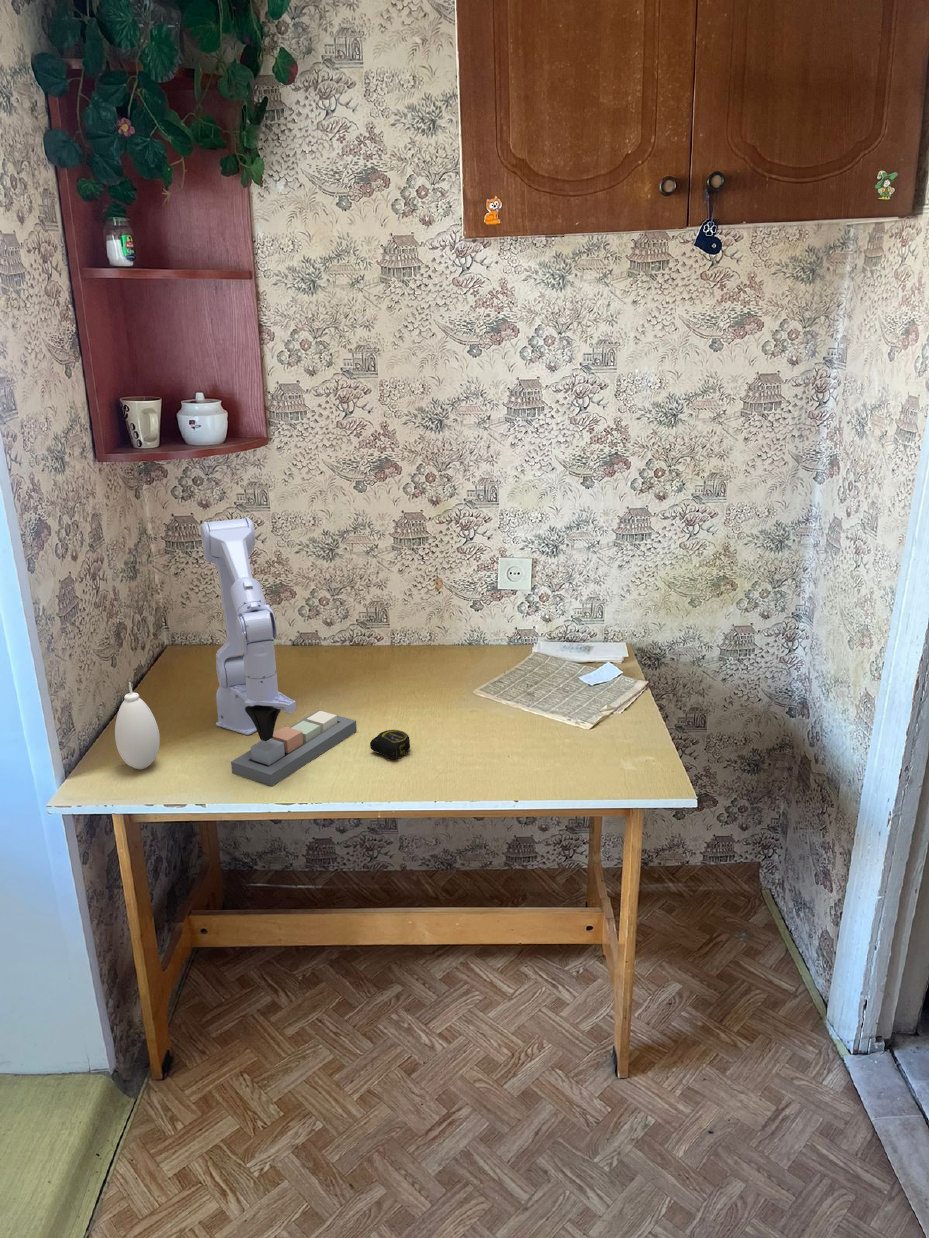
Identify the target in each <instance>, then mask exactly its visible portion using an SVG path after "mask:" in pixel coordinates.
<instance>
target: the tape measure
mask: <svg viewBox="0 0 929 1238" xmlns="http://www.w3.org/2000/svg"><path fill="white" fill-rule="evenodd" d="M410 739H411V738H410V736H409V735H408V733H406V732H405V731H403V730H398V729H389V730H384V731H382V732H380V733H379V734H377V736H376V737H373V738H372V739H371V740H370V743H369V747H370V750H371V751H373V752H375V753H377V754H380V755H383V756H385V757H387V758H389V759H392V760H398V759H399V758H400V757H402V756H404V755H406V754H407V753H408V751H409V750H410V748H411V743H410Z"/></svg>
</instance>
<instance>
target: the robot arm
mask: <svg viewBox="0 0 929 1238" xmlns="http://www.w3.org/2000/svg"><path fill="white" fill-rule="evenodd" d="M255 531H256V530H255V526H254V523H253V520H252V519H250V517H247V516H246V517H244V518H234V519H226V520H216V521H203V522H202V523H201V525H200V538H201V539H200V540H201V543H202V544H201V545H202V550H203V557H204V558H205V561H206V562H209V563H212V564H214V565H215V568H216V570H217V574H218V582H219V589H220V595H221V597H220V598H221V603H222V611H223V618H224V625H225V630H226V631H225V632H226V640H227V641H225V643H224V644H222V646H221V647H219V648H218V650H217V651H216V654H215V659H216V660H215V661H216V662H215V665H216V666H215V668H216V669H215V670H216V675H217V681H218V684H219V686H218V688H217V690H216V695H215V702H216V710H217V721H216V723H215V726H217V727H220V728H223V729H226V730H229V731H233V732H236V733H239V734H243V735H247V736H249V735H252V734H254V733H255V732H257V733H258V736H259V739H260V741H261V740H262V741H268V740H269V739H271V738H273V733H275V731H274V730H275V727H276V722H277V719H278V717H279V714H280V712H281V711H284V712H285V714H287V715H291V714H292V713H294V712H296V711H297V701H296V700H294V699H291V698H290V697H288V696H286V695H285V694H283V693H282V692H280V691H279V687H278V675H277V664H276V653H275V651H276V650H275V642H274V641H275V640H276V639H277V636H278V634H277V633H278V631H277V630H278V629H277V628H278V627H277V622H276V617H275V614H274V611H273V610H272V608H271V606H270V604H267V603H266V598H265V595H264V592H263V588H262V585H261V582H259V580H257V579H255V578H253V574H252V569H251V563H250V562H251V561H250V557H251V554H252V552H253V551H254V547H255V545H256V532H255Z"/></svg>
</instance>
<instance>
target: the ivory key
mask: <svg viewBox="0 0 929 1238" xmlns="http://www.w3.org/2000/svg"><path fill="white" fill-rule="evenodd" d="M306 721H307V722H309V723H313V724H316V725H320V732H321V734H322V733H324V732H325V731H327V730H329V729H330V728H332V727H333V726H335V725H337V715H336V714H335V713H331V714H330V712H326V711H322V710H320V711H319V712H317V713H315V714H314V715H312V716H310V717H309V718H307V719H306Z"/></svg>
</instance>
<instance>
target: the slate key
mask: <svg viewBox="0 0 929 1238" xmlns="http://www.w3.org/2000/svg"><path fill="white" fill-rule="evenodd" d="M250 750H251V756H252V760H254V761H257V762H260V763H263V764H266V765H271V764H272V763H274V762H276V761H277V760H279V759H280V758H282V757H284V756H285V752H284V743H283V742H280V741H277V740H273V739H269V740H268V741H262V740H261V739H260V740H259V741H258V742H256V743H255V744H252V745H251V746H250Z"/></svg>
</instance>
